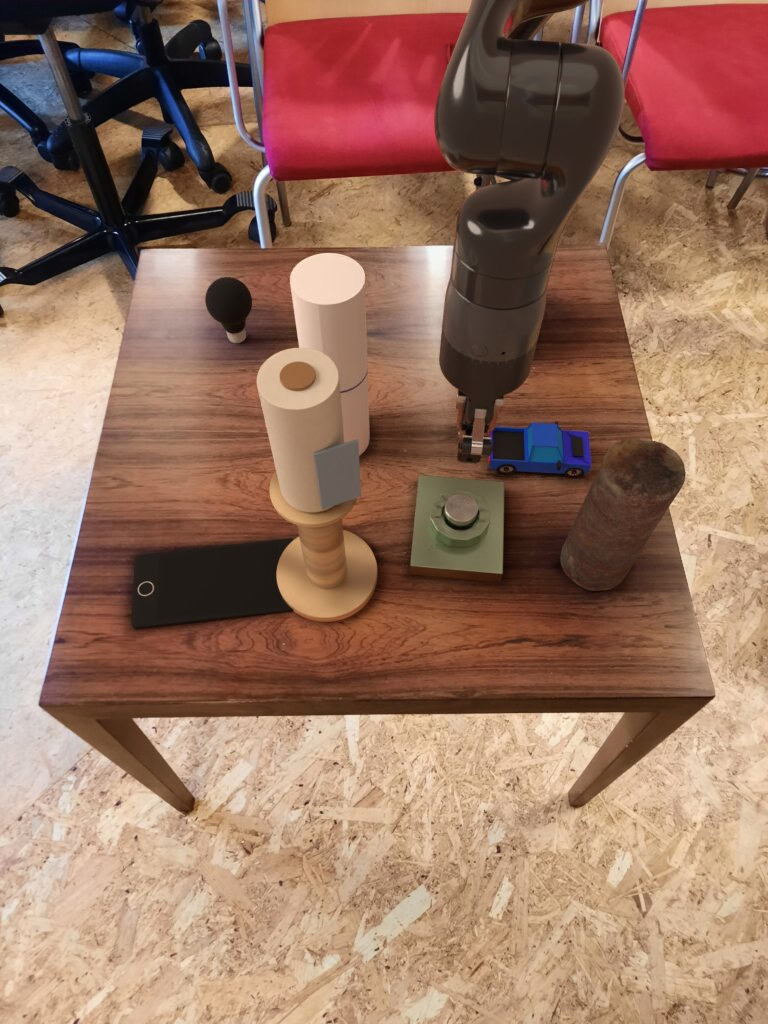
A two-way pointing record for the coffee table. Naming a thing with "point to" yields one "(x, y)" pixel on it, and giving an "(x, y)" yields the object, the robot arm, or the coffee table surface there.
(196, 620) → the cell phone
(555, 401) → the coffee table surface
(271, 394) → the towel roll
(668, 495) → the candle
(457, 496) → the button
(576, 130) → the robot arm
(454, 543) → the button box
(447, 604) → the coffee table surface
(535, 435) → the toy car
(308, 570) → the towel holder
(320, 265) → the cylindrical container
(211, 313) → the light bulb
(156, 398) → the coffee table surface
